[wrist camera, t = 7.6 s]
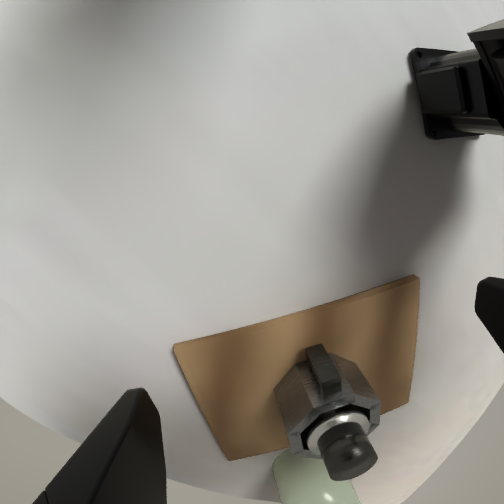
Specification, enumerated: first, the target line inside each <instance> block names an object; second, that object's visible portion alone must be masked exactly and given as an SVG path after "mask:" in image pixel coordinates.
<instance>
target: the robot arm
mask: <svg viewBox="0 0 504 504" xmlns="http://www.w3.org/2000/svg"><path fill="white" fill-rule="evenodd" d="M467 34H468V36H469V38H470V40H471V42H473V43H474V45H475V47H476V49H472V50H467V51H462V52H456V51H447V50H438V49H427V48H415V49H412V50H411V59H412V63H413V67H414V71H415V76H416V81H417V86H418V91H419V96H420V101H421V107H422V113H423V119H424V126H425V133H426V136H427V137H428V138H429V139H433V140H436V139H445V138H454V137H464V136H474V135H484V134H494V135H502V136H504V20H500V21H497V22H494V23H492V24H489V25H487V26H484V27H481V28H479V29H476V30H474V31H471V32H469V33H467ZM417 53H418V55H419V57H418V56H417ZM432 130H433V135H432ZM475 312H476V314H477V316H478V317H479V319H480V320H481V321H482V323H483V324H484V326H485V327H486V328H487V330H488V331H489V333H490V334H491V336H492V337H493V339H494V340H495V342H496V343H497V345H498V346H499V347H500V349H501V350H502V352H503V353H504V279H502V278H495V277H487V278H485V279H483V280H481V281H480V282H479V283H478V285H477V292H476V300H475ZM45 490H46V491H43V492H42V493H41V494H40V495H39V496H38V498H37V499H36V500H35V501H34V502H33V504H167V499H166V498H167V496H166V467H165V459H164V450H163V442H162V432H161V422H160V415H159V412H158V410H157V408H156V407H155V405H154V403H153V402H152V400H151V398H150V396H149V395H148V393H147V391H146V390H145V389H144V388H135V389H129V390H127V391H126V392H125V393H124V394H123V395H122V396H121V398H120V399H119V400H118V401H117V402H116V404H115V405H114V406H113V407H112V408H111V410H110V411H109V412H108V413H107V414H106V416H105V417H104V418H103V419H102V420H101V422H100V423H99V424H98V425H97V426H96V428H95V429H94V430H93V431H92V432H91V434H90V435H89V436H88V437H87V438H86V440H85V441H84V442H83V443H82V444H81V446H80V447H79V448H78V449H77V451H76V452H75V453H74V454H73V456H72V457H71V458H70V459H69V460H68V461H67V463H66V464H65V465H64V466H63V467H62V469H61V470H60V471H59V472H58V473H57V475H56V476H55V477H54V478H53V480H52V481H51V482H50V483H49V484H48V486H47V487H46V488H45Z"/></svg>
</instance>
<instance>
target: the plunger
mask: <svg viewBox="0 0 504 504" xmlns="http://www.w3.org/2000/svg"><path fill="white" fill-rule="evenodd" d="M322 415H323V417H324V419H323V420H322V421H320V422H319V423H317V424H316V425H315V426H314V427H313V428H312V429H311V430H310V432H309V433H308V435H307V439H306V442H307V445H308V448H309V450H310V451H311V452H312V453H313V454H315V455H319V456H322V459H323V461H324V464H325V466H326V469H327V472H328V474H329V477H330V479H331V480H334V481H345V480H349V479H352V478H355V477H357V476H359V475H361V474H363V473H365V472H366V471H368V470H369V469H370V468H371V467H372V466H373V465H374V464H375V463H376V461H377V459H378V457H377V454H376V452H375V451H374V449H373V447H372V445H371V443H370V441H369V440H368V438H367V436H366V434H367V432H368V430H369V427H370V423H369V421H368V419H367V417H366V415H365V414H364V413H362V412H360V411H356V410H348V411H342V412H339V413H335V411H334V410H331V411H328V412H325V413H322Z"/></svg>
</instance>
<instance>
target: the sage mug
mask: <svg viewBox="0 0 504 504" xmlns="http://www.w3.org/2000/svg"><path fill="white" fill-rule="evenodd" d="M272 468H273V472H274V476H275V480H276V484H277V488H278V492H279V496H280V499H281V503H282V504H361V503H360V500H359V498H358V496H357V494H356V491H355V489H354V487H353V485H352V482H351V480H350V479H349V480H345V481H334V480H331V479H330V477H329V474H328V472H327V469H326V466H325V464H324V461H323V459H315V458H308V457H302V456H296V455H293V454H292V451H291V449H289V450H287V451H286V452H284V453H283V454H281V455H280V456H279V457H278V458H277V459H276V460H275V461H274V463H273V466H272Z"/></svg>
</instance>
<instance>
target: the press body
mask: <svg viewBox="0 0 504 504" xmlns="http://www.w3.org/2000/svg"><path fill="white" fill-rule="evenodd" d="M305 353H306V359H307V360H305V361H302V362H299V363H295V364H294V365H293V366H292V368H291V369H290V370H289V371H288V372H287V374H286V375H285V376H284V377H283V378H282V379H281V381H280V382H279V383H278V384H277V385H276V386H275V388H274V389H273V390H274V394H275V398H276V401H277V405H278V409H279V413H280V416H281V419H282V422H283V425H284V429H285V432H286V435H287V438H288V441H289V445H290V448H291V451H292V454H293V455H296V456H302V457H308V458H315V459H322V456H319V455H315V454H313V453H312V452H311V451H310V450H309V448H308V445H307V442H306V439H307V435H308V433H309V432H310V430H311V429H312V428H313V427H314V426H315V425H316V424H317V423H319V422H320V421H322V420H323V419H324V417H323V415H322V413H325V412H328V411H331V410H334V411H335V413H339V412H342V411H348V410H356V411H360V412H362V413H364V414H365V415H366V417H367V419H368V421H369V423H370V427H369V430H368V432H367V434H366V436H368V435H369V434H370V433H371V432H372V431H373V430H374V429H375V428H376V427H377V426H378V425H379V421H380V411H381V401H380V399H379V398H378V396H377V395H376V393H375V392H374V390H373V389H372V387H371V385H370V384H369V382H368V381H367V379H366V378H365V376H364V375H363V373H362V372H361V370H360V369H359V367H358V366H357V364H356V363H355V362H352V361H350V360H347V359H345V358H343V357H340V356H338V355H336V354H333V353H331V352H330V353H327V351H326V350H325V348H324V346H323V345H322V343H321V344H317V345H314V346H311V347H308V348H305Z"/></svg>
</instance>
